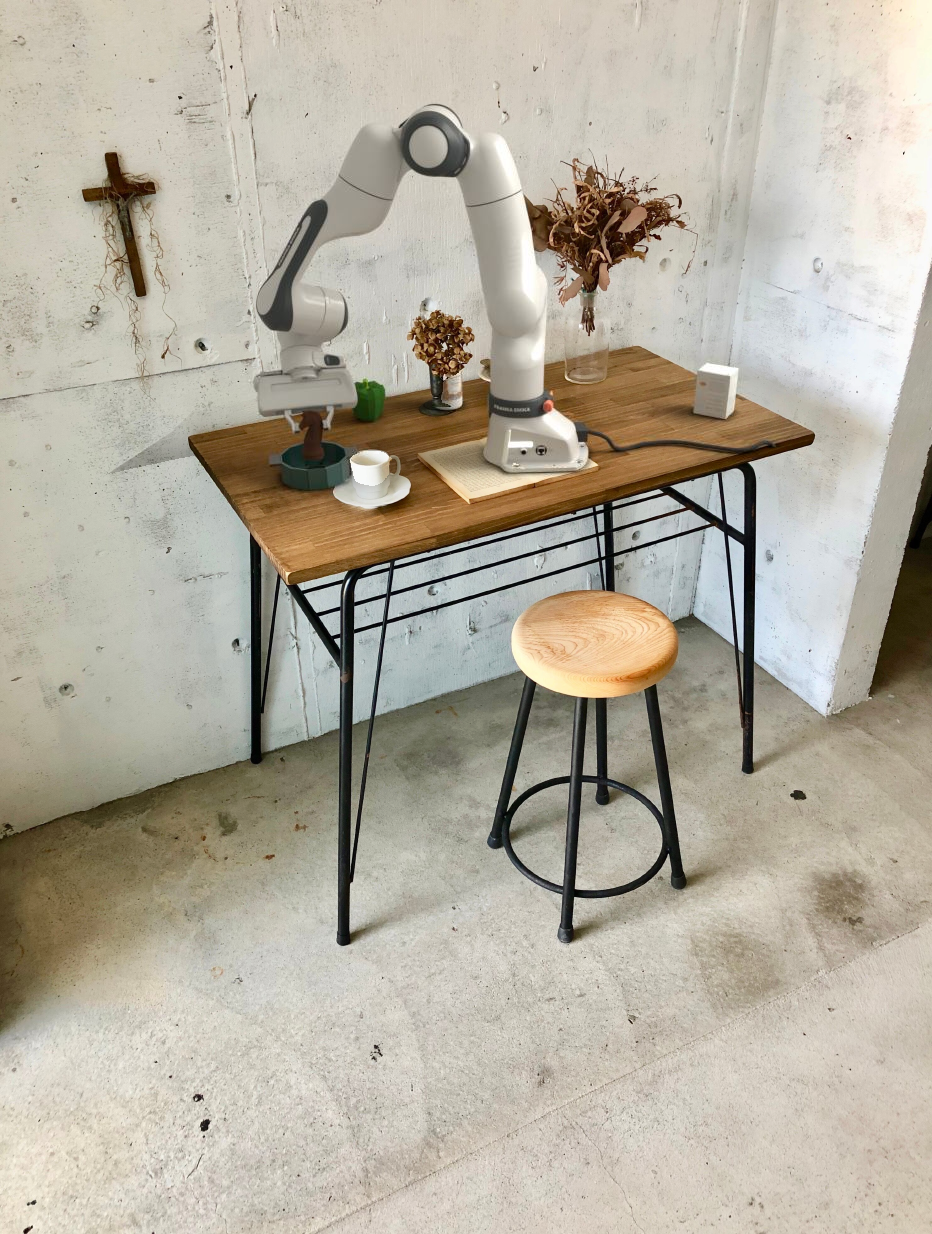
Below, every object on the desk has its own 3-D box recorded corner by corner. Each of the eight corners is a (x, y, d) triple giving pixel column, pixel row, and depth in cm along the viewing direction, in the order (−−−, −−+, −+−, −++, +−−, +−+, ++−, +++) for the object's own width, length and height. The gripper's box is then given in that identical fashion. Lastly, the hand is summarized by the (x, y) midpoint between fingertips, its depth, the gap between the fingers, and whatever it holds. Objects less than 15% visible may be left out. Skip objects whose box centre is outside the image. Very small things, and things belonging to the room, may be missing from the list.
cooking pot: (363, 485, 208) (361, 464, 205) (273, 494, 205) (270, 474, 203) (355, 456, 219) (354, 437, 217) (270, 465, 217) (267, 445, 214)
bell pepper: (360, 409, 242) (357, 368, 236) (391, 413, 239) (389, 372, 233) (344, 422, 235) (340, 380, 230) (376, 427, 233) (373, 385, 227)
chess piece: (299, 454, 211) (293, 408, 205) (323, 450, 212) (318, 404, 207) (304, 463, 207) (298, 417, 202) (329, 458, 209) (323, 412, 203)
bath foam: (443, 413, 239) (440, 329, 227) (428, 404, 243) (424, 321, 232) (468, 406, 242) (466, 323, 231) (452, 397, 246) (450, 315, 235)
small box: (734, 411, 236) (740, 368, 230) (725, 420, 232) (731, 375, 226) (701, 405, 240) (706, 362, 234) (692, 413, 236) (697, 369, 230)
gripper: (250, 366, 204) (259, 430, 202) (352, 356, 207) (361, 419, 205) (253, 379, 210) (261, 442, 208) (351, 370, 213) (361, 431, 211)
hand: (311, 431), depth 206 cm, fingers closed on chess piece, 5 cm apart
